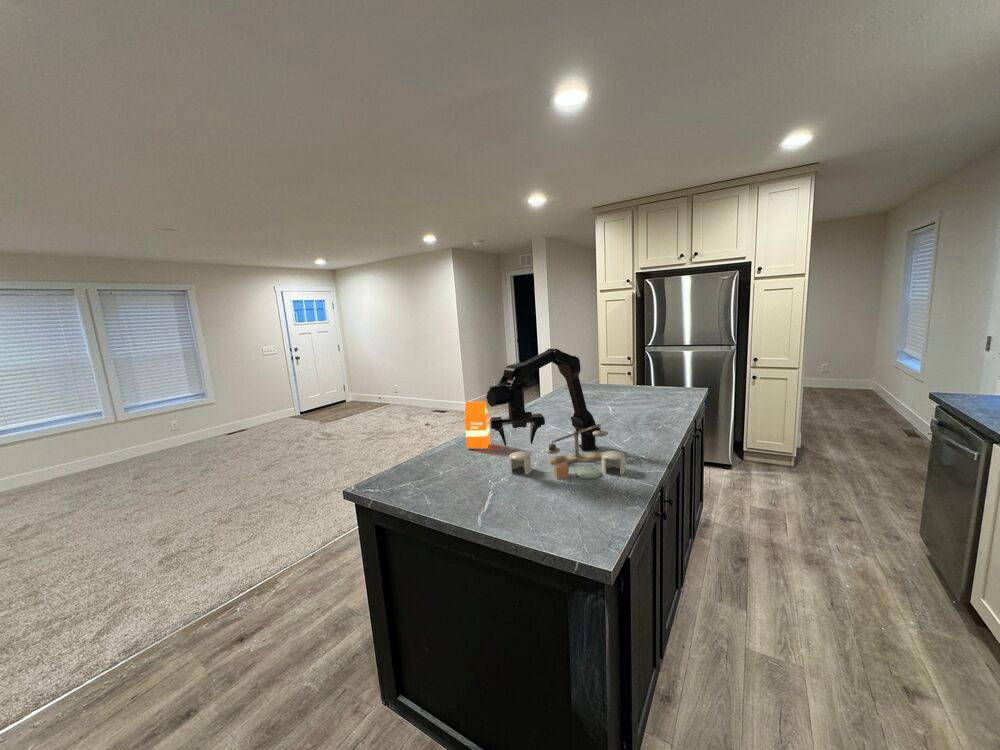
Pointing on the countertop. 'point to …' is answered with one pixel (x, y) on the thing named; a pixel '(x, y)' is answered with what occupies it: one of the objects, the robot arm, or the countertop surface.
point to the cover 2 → (613, 460)
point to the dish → (587, 472)
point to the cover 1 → (520, 461)
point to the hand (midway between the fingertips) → (518, 444)
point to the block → (561, 470)
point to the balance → (577, 456)
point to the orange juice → (477, 425)
